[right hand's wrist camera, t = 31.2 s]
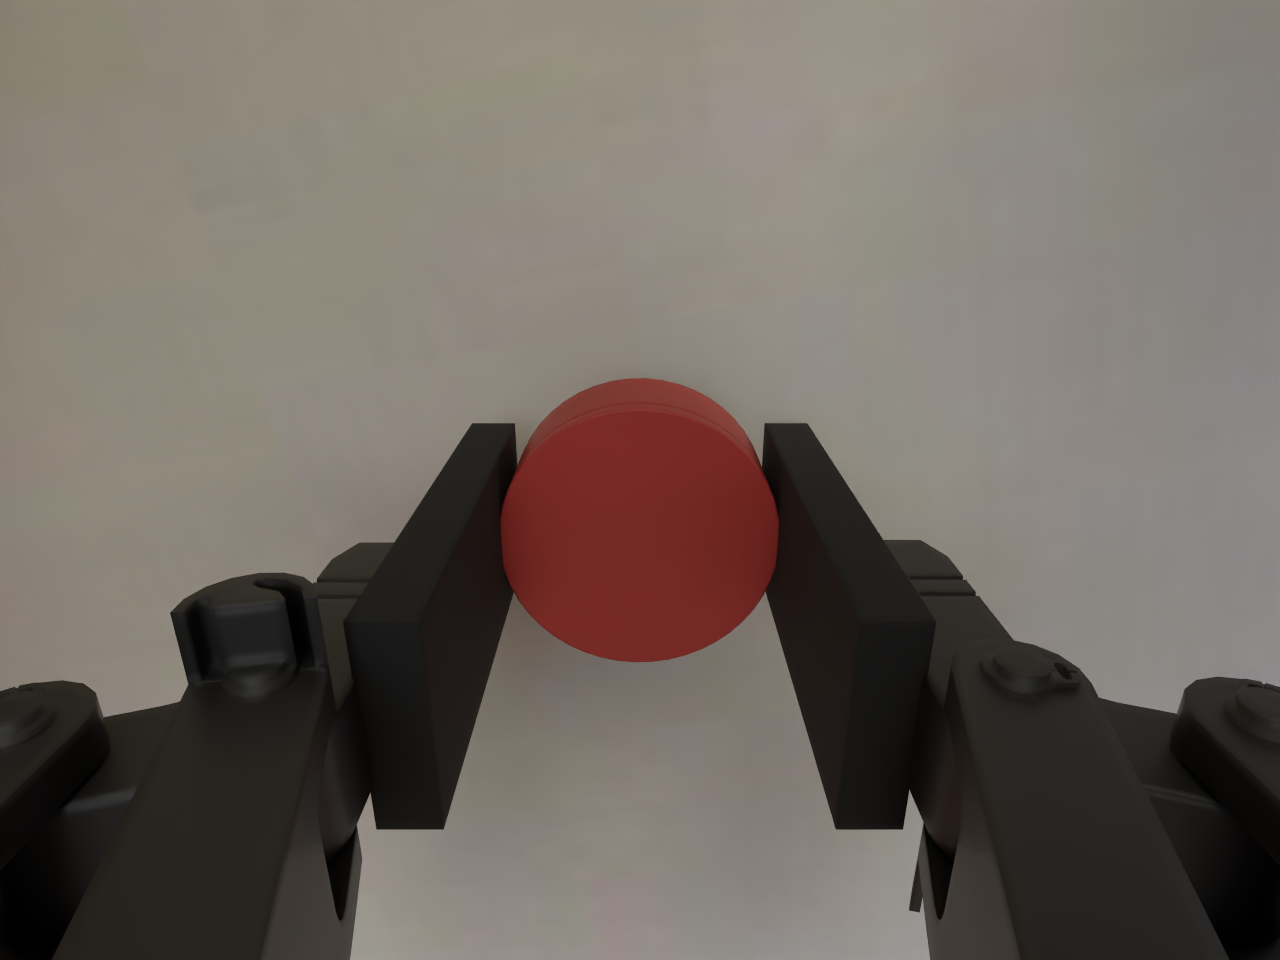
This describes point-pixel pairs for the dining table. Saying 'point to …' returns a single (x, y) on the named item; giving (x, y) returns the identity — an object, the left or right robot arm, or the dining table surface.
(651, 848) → the dining table surface
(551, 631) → the cap
